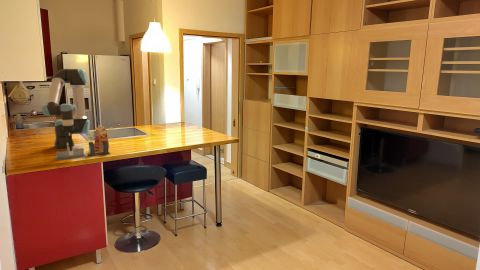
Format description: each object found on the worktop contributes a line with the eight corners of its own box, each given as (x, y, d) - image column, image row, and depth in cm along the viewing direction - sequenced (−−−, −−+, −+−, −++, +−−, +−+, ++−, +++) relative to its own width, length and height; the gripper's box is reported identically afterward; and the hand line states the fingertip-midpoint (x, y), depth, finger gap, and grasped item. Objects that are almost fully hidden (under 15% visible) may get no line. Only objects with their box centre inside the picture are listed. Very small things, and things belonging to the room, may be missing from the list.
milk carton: (93, 149, 276) (92, 125, 272) (103, 147, 284) (102, 123, 280) (100, 150, 271) (98, 126, 267) (110, 148, 279) (108, 125, 275)
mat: (55, 157, 250) (55, 157, 250) (84, 154, 260) (84, 153, 260) (56, 160, 242) (56, 160, 242) (86, 157, 252) (86, 156, 252)
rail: (56, 157, 248) (56, 151, 247) (83, 154, 257) (82, 148, 256) (57, 159, 245) (56, 152, 244) (84, 155, 254) (83, 149, 253)
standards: (88, 154, 260) (87, 142, 259) (108, 151, 268) (107, 140, 266) (89, 156, 255) (88, 144, 253) (110, 153, 262) (109, 142, 260)
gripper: (60, 122, 254) (63, 149, 259) (63, 128, 234) (66, 157, 238) (71, 122, 258) (74, 148, 263) (75, 127, 238) (77, 156, 242)
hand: (70, 152), depth 250 cm, fingers open, 13 cm apart
